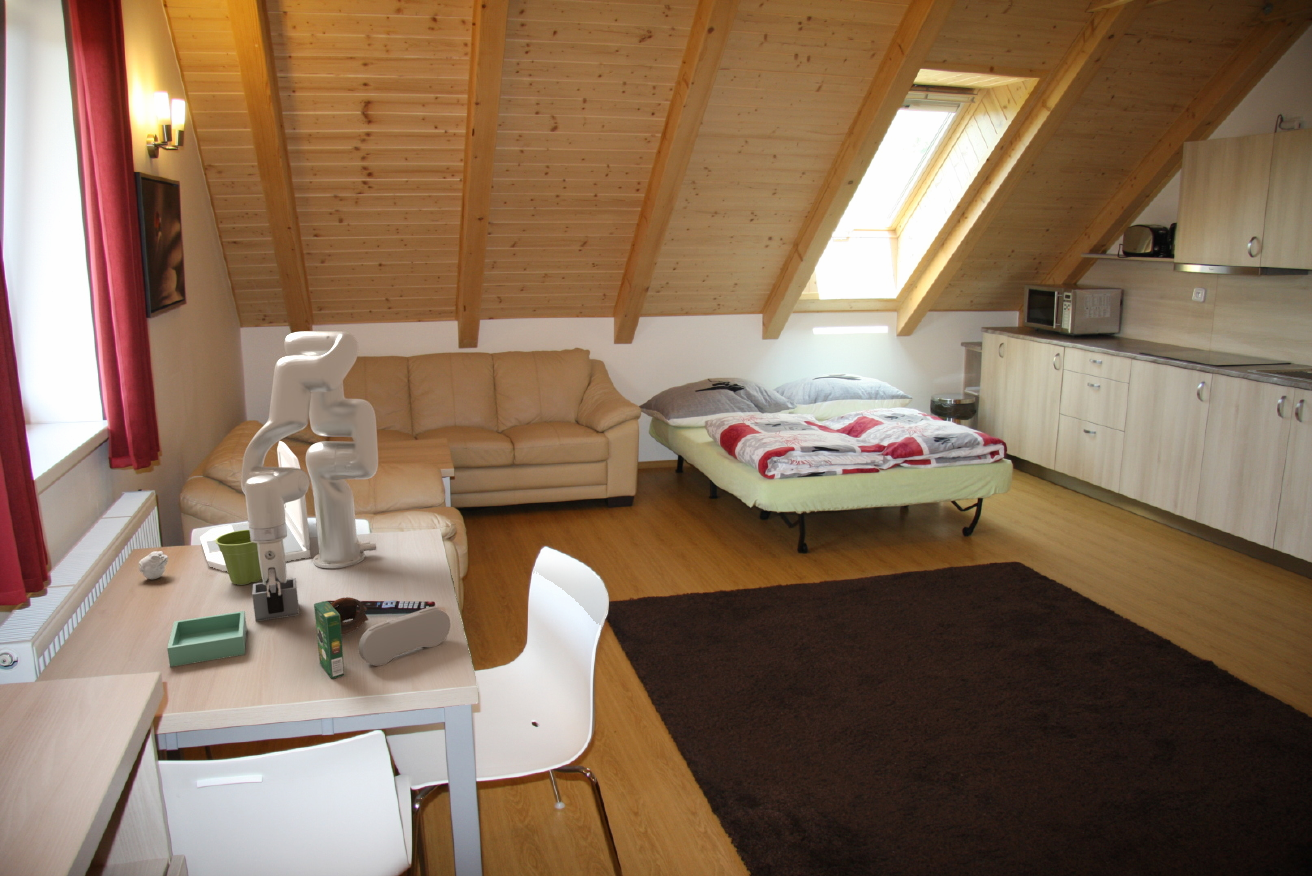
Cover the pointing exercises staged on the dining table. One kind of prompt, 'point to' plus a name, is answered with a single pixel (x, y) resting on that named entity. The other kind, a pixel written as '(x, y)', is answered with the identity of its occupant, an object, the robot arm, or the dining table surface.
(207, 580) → the dining table surface
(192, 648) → the big crate
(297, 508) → the laptop
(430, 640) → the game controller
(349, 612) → the pottery mug
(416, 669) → the dining table surface
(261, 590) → the small crate
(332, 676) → the coffee box
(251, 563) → the plant pot
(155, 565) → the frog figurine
